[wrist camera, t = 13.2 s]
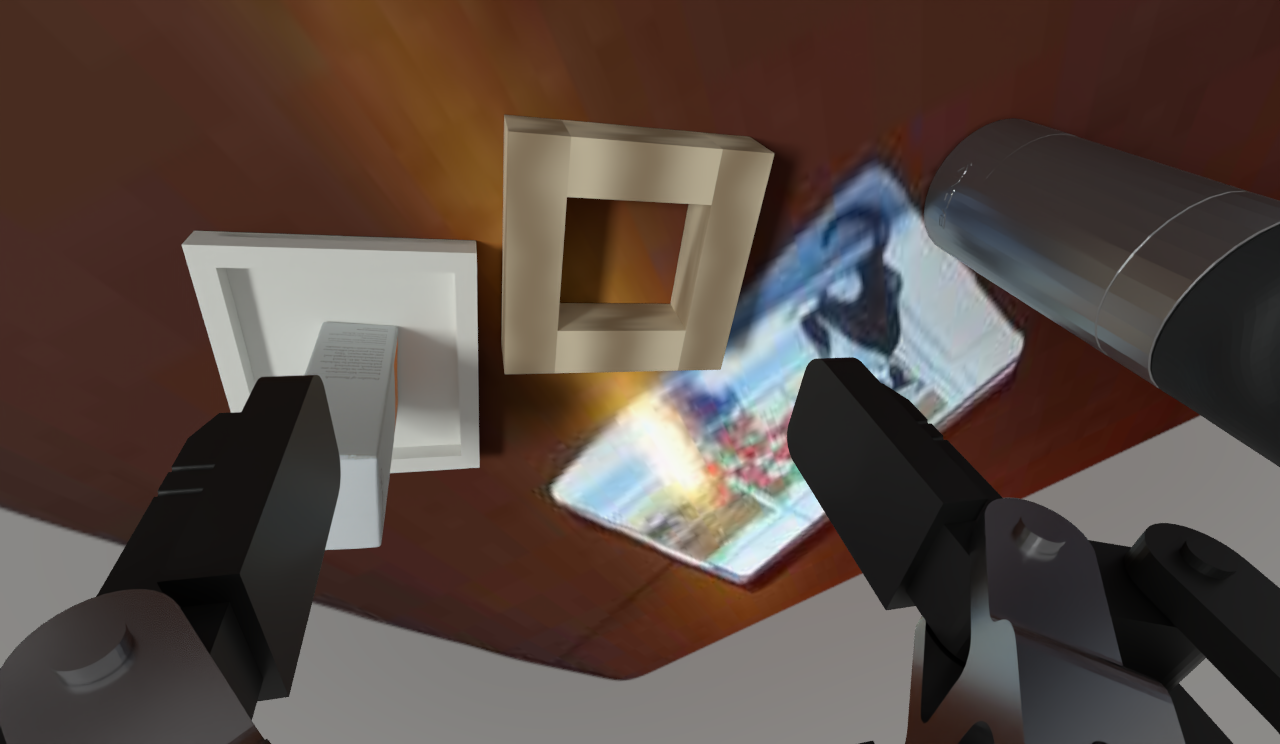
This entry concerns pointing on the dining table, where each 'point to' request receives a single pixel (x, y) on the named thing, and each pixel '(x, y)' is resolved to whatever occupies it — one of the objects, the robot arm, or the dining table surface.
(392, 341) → the skincare box
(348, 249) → the grey tray
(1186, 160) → the dining table surface
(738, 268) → the frame
